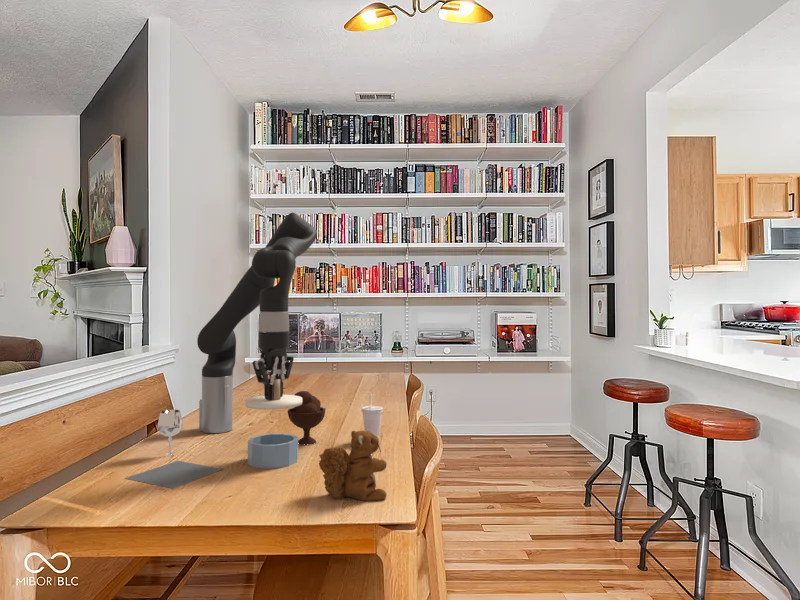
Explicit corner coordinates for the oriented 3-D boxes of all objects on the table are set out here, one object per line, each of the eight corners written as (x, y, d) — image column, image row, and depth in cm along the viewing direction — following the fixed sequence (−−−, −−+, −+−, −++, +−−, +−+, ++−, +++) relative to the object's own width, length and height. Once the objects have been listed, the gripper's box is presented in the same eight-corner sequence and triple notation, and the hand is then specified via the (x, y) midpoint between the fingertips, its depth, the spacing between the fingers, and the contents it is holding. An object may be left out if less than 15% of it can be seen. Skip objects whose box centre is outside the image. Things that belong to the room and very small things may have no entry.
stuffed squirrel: (390, 500, 111) (390, 436, 111) (321, 505, 108) (321, 439, 108) (381, 484, 121) (381, 425, 121) (317, 488, 118) (317, 428, 118)
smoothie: (361, 438, 161) (361, 391, 161) (382, 438, 162) (382, 391, 162) (361, 444, 155) (361, 395, 155) (383, 443, 155) (384, 394, 155)
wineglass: (186, 455, 142) (187, 410, 142) (170, 462, 137) (171, 414, 137) (169, 453, 144) (169, 408, 144) (152, 459, 139) (153, 412, 139)
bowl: (238, 466, 133) (238, 442, 133) (269, 454, 144) (269, 431, 144) (277, 473, 128) (277, 447, 128) (307, 459, 139) (307, 436, 139)
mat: (124, 480, 122) (124, 478, 122) (177, 463, 136) (177, 460, 136) (172, 491, 116) (172, 488, 116) (223, 471, 129) (223, 468, 129)
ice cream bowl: (318, 448, 150) (318, 394, 150) (280, 446, 152) (281, 392, 152) (331, 439, 160) (331, 388, 160) (295, 437, 162) (295, 387, 162)
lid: (233, 406, 133) (233, 381, 133) (269, 397, 146) (269, 374, 146) (279, 411, 127) (279, 385, 127) (313, 401, 140) (313, 377, 140)
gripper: (279, 328, 144) (279, 393, 144) (243, 330, 132) (242, 401, 132) (302, 328, 141) (302, 395, 141) (267, 331, 128) (267, 404, 128)
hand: (273, 398), depth 136 cm, fingers closed on lid, 3 cm apart
